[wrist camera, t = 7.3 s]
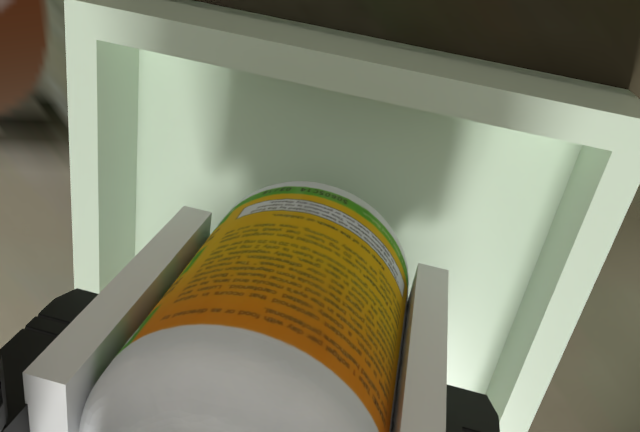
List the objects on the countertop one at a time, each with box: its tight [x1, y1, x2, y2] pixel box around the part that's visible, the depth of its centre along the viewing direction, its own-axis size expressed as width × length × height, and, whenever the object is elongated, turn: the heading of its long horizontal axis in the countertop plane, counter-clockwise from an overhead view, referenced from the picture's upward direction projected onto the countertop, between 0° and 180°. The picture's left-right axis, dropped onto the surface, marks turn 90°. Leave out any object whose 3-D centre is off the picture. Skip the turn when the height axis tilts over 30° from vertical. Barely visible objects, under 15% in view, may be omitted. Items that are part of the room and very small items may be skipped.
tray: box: [64, 0, 640, 432], centre depth 19 cm, size 14×22×3 cm, turn 171°
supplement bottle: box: [79, 181, 409, 432], centre depth 12 cm, size 5×5×10 cm
